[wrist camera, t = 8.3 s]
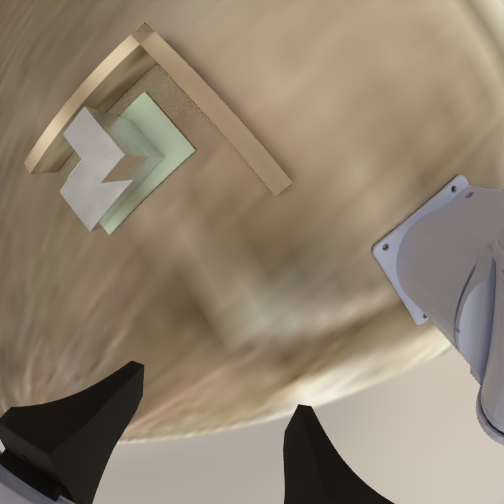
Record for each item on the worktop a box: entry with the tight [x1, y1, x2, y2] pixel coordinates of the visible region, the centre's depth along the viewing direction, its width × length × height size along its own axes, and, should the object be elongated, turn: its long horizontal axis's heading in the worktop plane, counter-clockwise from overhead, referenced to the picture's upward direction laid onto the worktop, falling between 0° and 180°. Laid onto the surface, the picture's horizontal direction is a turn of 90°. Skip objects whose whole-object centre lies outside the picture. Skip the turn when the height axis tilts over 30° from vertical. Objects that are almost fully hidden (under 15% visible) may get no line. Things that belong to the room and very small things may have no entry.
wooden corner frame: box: [24, 23, 293, 235], centre depth 18 cm, size 13×14×4 cm
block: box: [60, 106, 165, 232], centre depth 17 cm, size 7×4×6 cm, turn 131°
